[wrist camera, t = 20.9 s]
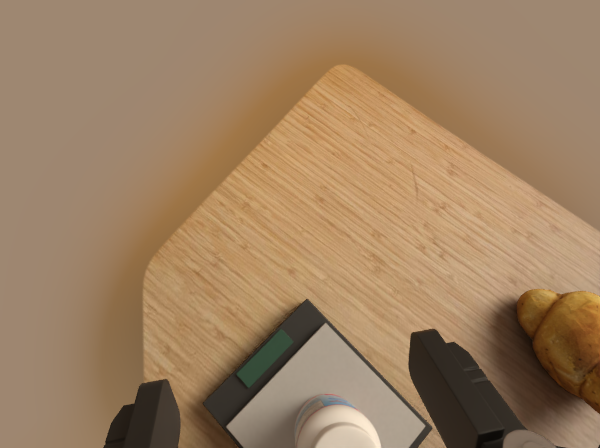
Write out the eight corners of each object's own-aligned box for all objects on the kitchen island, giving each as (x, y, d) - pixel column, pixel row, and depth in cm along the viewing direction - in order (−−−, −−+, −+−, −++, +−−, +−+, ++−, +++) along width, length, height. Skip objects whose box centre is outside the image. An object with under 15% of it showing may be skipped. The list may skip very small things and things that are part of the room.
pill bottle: (373, 427, 34) (415, 465, 23) (328, 483, 32) (351, 552, 21) (325, 377, 35) (344, 391, 24) (279, 429, 33) (278, 469, 22)
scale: (329, 546, 33) (333, 565, 30) (206, 400, 36) (199, 405, 33) (425, 423, 37) (437, 430, 34) (305, 300, 40) (307, 297, 37)
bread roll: (489, 312, 40) (537, 305, 33) (551, 267, 42) (609, 250, 35) (572, 422, 37) (646, 442, 30) (634, 367, 39) (719, 373, 32)
